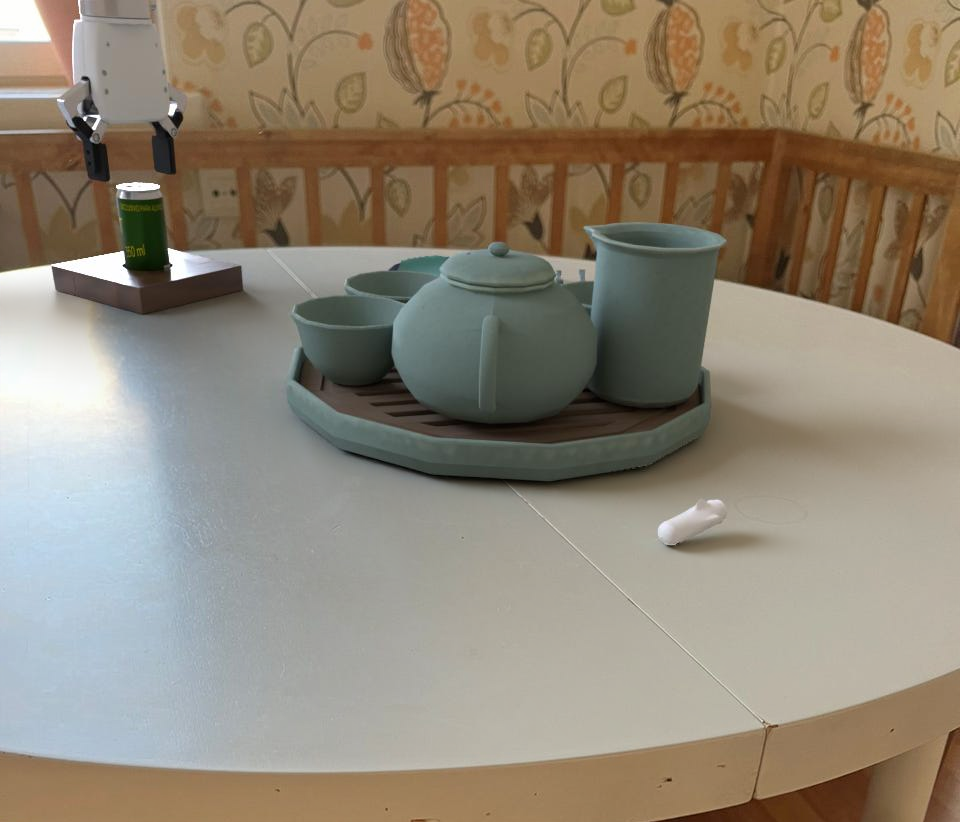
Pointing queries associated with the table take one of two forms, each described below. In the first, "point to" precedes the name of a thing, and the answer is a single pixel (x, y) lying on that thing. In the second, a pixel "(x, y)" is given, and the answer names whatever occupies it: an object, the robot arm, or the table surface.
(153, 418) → the table surface
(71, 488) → the table surface
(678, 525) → the small white plastic part
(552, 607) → the table surface
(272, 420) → the table surface
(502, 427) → the tea set
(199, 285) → the holder
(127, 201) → the beer can
